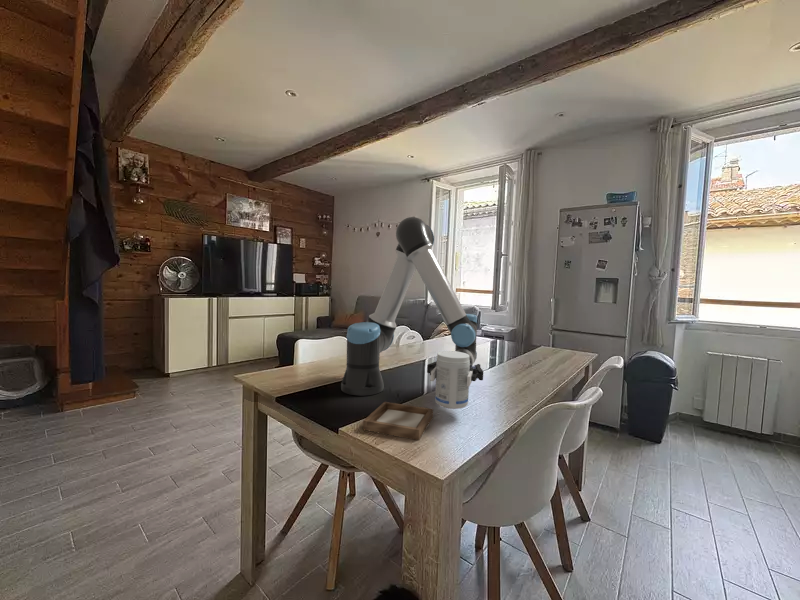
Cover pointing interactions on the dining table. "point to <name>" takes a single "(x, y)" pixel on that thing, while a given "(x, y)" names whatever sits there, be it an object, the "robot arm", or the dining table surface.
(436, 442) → the dining table surface
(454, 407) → the supplement tub
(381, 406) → the holder tray
